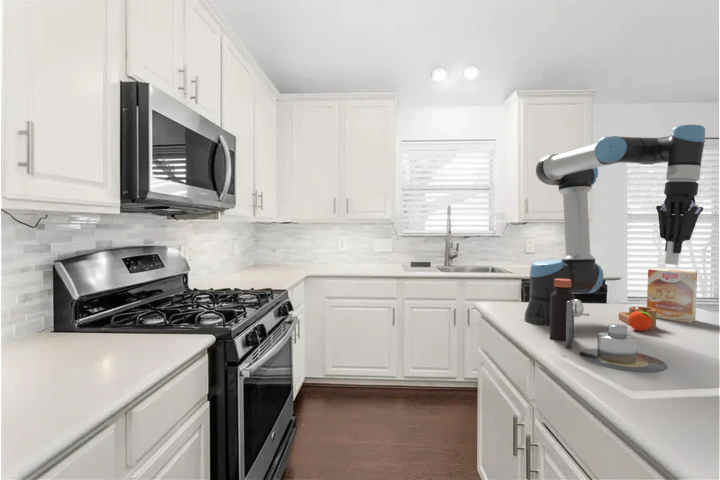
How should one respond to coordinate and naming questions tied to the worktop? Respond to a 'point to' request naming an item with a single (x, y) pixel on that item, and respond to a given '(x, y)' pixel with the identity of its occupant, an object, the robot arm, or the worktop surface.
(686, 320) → the coffeecake box
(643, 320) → the clementine
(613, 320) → the worktop surface
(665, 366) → the grey plate
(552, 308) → the bottle
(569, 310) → the dial gauge stand
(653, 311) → the bracket
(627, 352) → the cover
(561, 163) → the robot arm
